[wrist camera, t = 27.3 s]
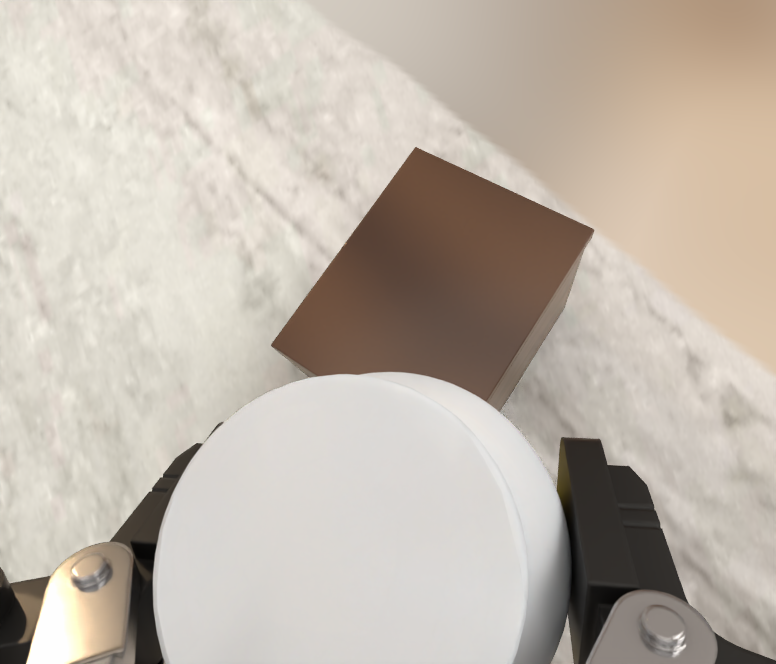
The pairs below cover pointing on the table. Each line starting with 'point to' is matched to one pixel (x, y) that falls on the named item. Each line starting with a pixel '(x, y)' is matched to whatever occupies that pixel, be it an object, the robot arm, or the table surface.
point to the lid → (436, 281)
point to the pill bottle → (363, 533)
